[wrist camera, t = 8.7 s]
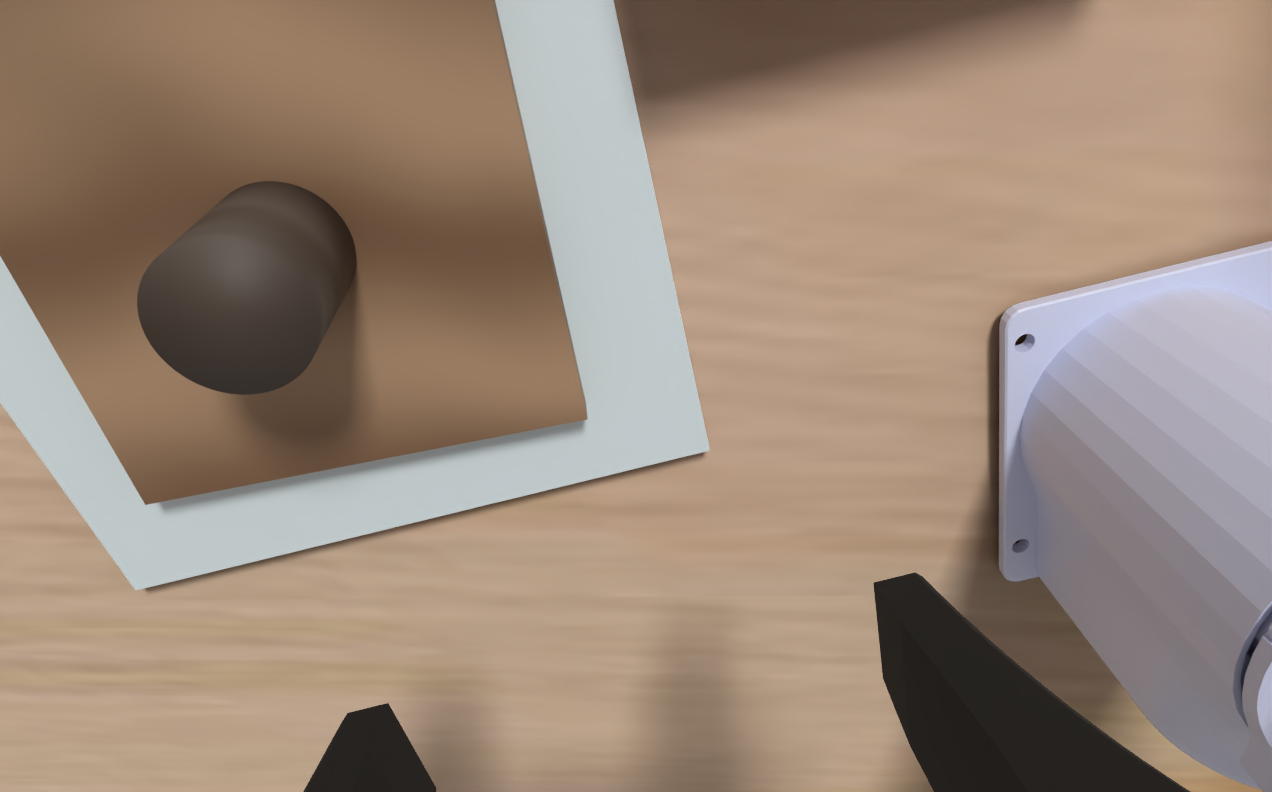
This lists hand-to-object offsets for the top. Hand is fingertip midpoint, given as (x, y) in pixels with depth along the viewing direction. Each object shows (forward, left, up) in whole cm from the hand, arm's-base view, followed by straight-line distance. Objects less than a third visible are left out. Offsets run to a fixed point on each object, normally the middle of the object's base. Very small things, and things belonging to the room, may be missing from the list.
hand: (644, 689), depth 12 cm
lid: (+5, +6, -10) cm, 13 cm away
